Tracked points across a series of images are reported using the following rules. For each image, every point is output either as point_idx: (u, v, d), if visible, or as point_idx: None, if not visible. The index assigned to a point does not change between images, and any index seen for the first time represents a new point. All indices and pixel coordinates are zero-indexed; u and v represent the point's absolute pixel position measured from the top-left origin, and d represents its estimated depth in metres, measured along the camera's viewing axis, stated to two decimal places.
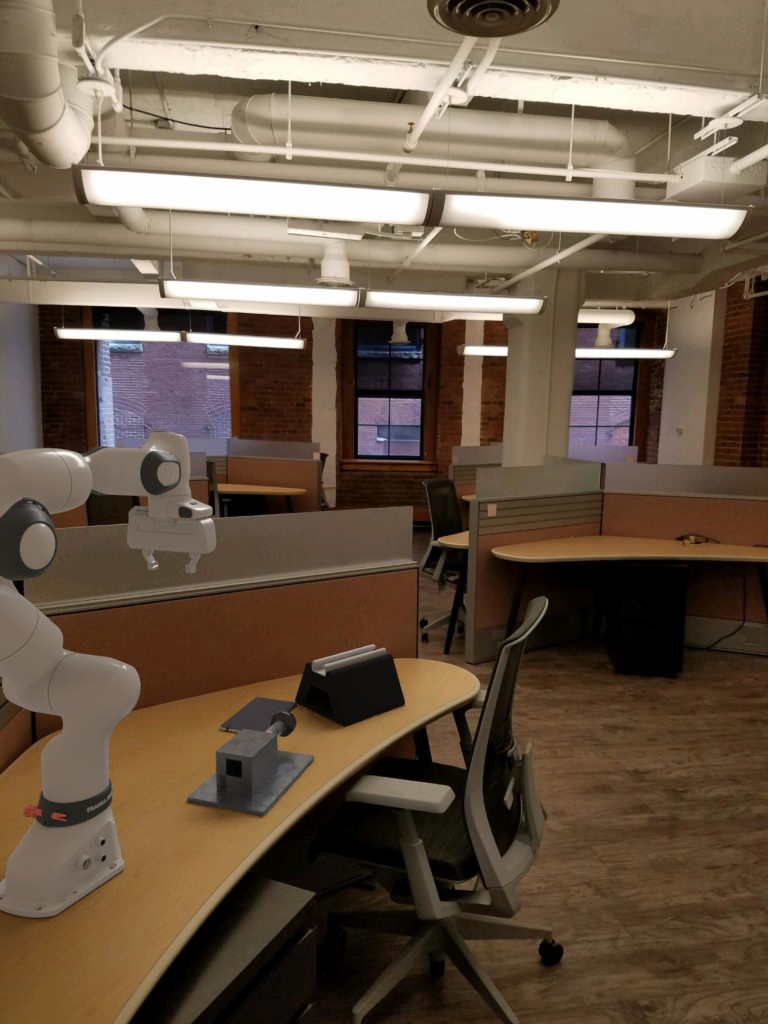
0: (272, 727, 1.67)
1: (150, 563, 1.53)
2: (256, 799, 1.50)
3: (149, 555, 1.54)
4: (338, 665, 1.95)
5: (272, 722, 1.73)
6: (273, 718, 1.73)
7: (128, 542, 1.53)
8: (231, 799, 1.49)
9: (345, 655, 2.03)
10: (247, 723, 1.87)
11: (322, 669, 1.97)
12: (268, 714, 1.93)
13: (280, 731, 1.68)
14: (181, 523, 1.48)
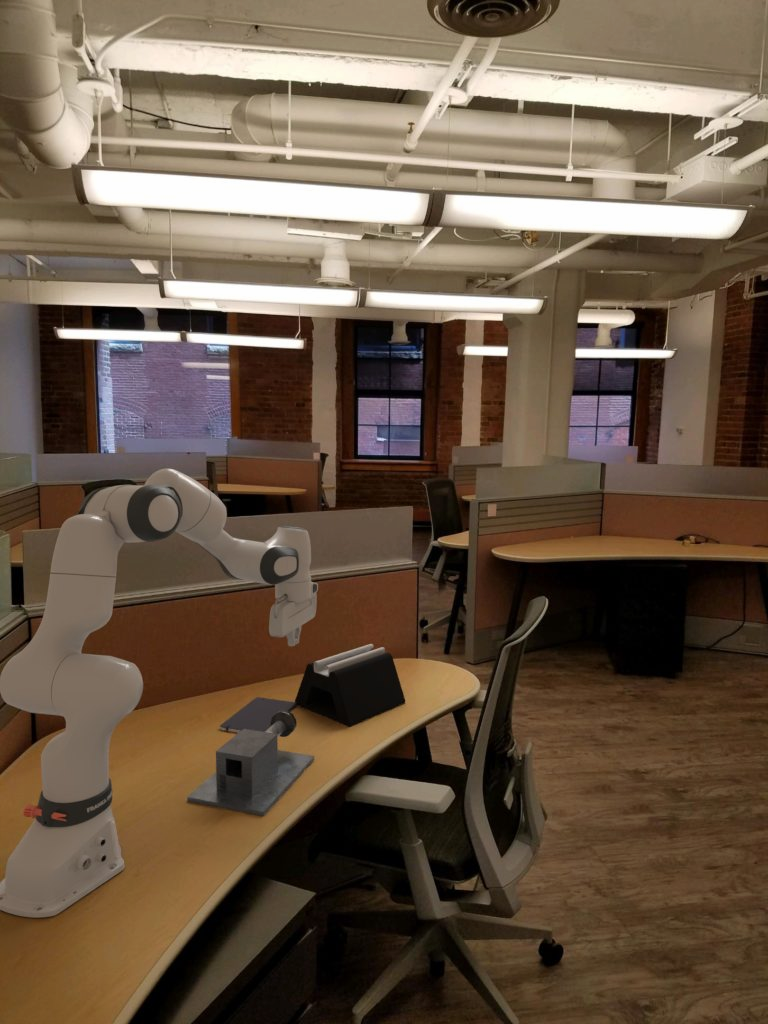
0: (272, 727, 1.67)
1: (295, 639, 1.76)
2: (256, 799, 1.50)
3: None
4: (340, 665, 1.95)
5: (272, 722, 1.73)
6: (273, 718, 1.73)
7: (283, 632, 1.66)
8: (231, 799, 1.49)
9: (345, 655, 2.03)
10: (247, 723, 1.87)
11: (324, 670, 1.97)
12: (268, 714, 1.93)
13: (280, 731, 1.68)
14: (309, 598, 1.79)
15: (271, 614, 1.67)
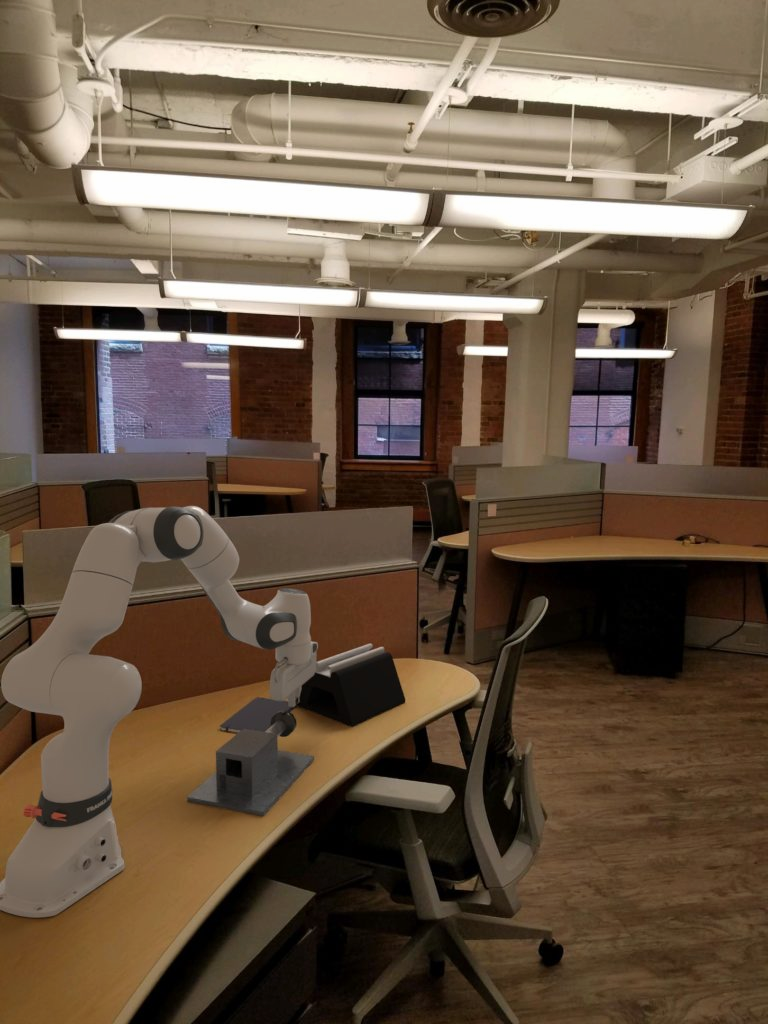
0: (272, 727, 1.67)
1: (295, 700, 1.78)
2: (256, 799, 1.50)
3: None
4: (342, 665, 1.95)
5: (272, 722, 1.73)
6: (273, 718, 1.73)
7: (283, 696, 1.69)
8: (231, 799, 1.49)
9: (345, 655, 2.03)
10: (247, 723, 1.87)
11: (325, 670, 1.96)
12: (268, 714, 1.93)
13: (280, 731, 1.68)
14: None
15: (271, 678, 1.69)
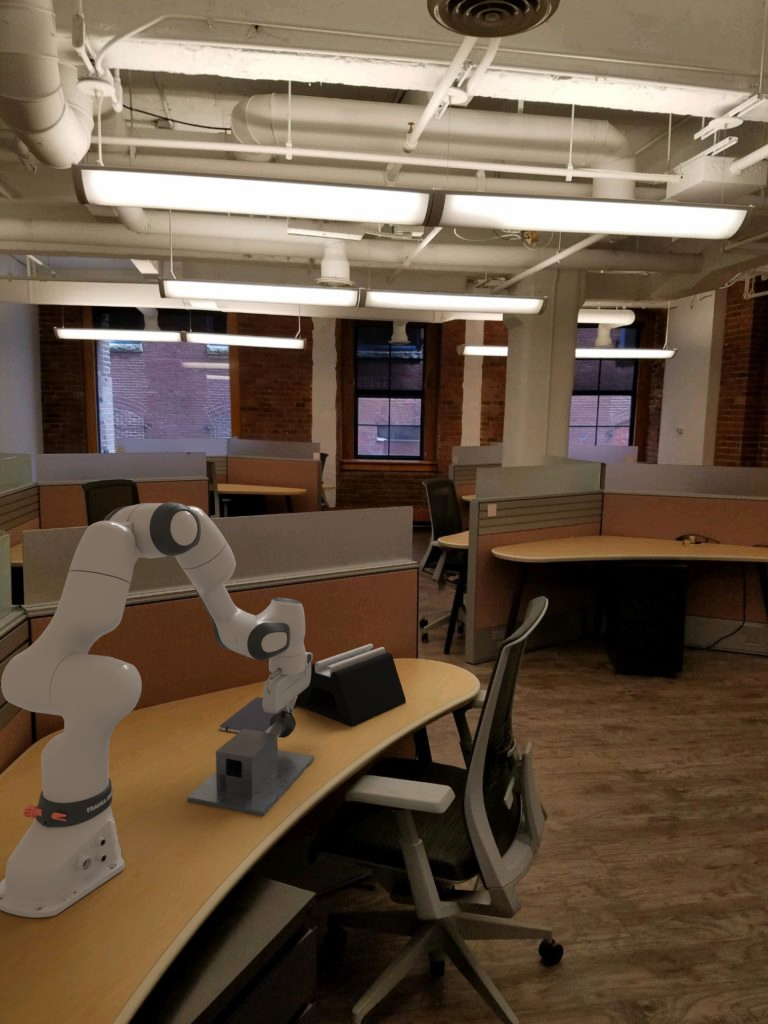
0: (271, 728, 1.67)
1: (289, 712, 1.74)
2: (256, 799, 1.50)
3: None
4: (342, 665, 1.95)
5: (271, 723, 1.73)
6: (272, 719, 1.72)
7: (276, 708, 1.65)
8: (231, 799, 1.49)
9: (346, 655, 2.03)
10: (247, 723, 1.87)
11: (325, 670, 1.96)
12: (268, 714, 1.93)
13: (279, 732, 1.68)
14: (304, 669, 1.77)
15: (264, 690, 1.65)
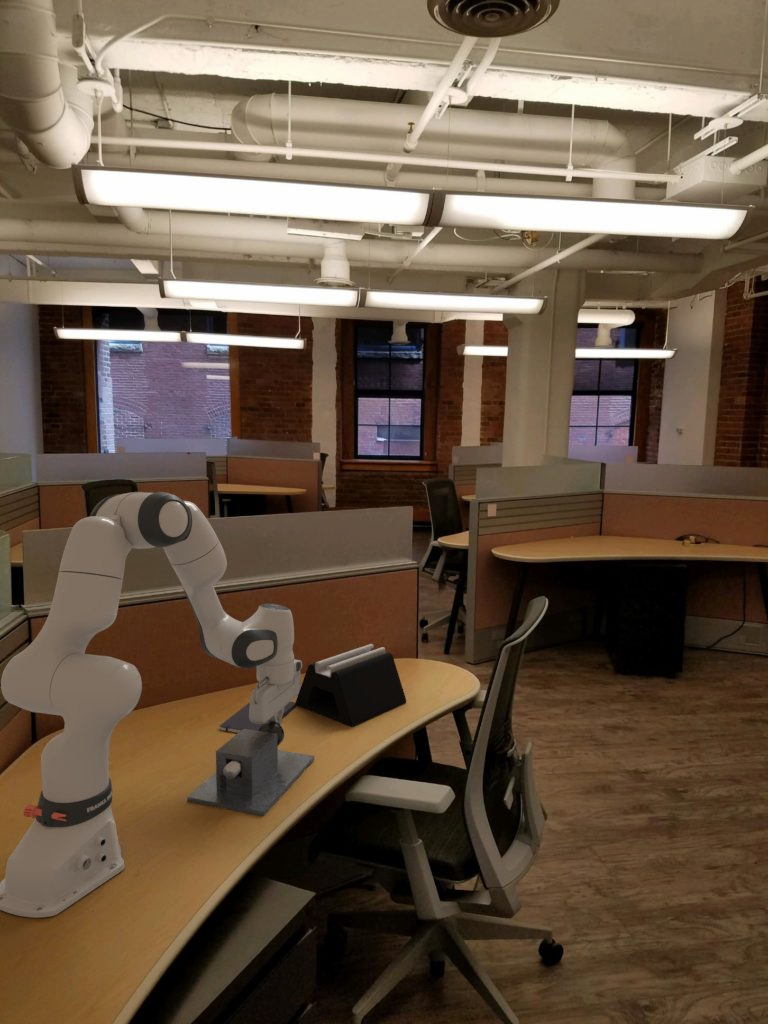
0: None
1: (277, 722, 1.68)
2: (256, 799, 1.50)
3: None
4: (342, 665, 1.95)
5: None
6: (260, 729, 1.66)
7: (263, 719, 1.59)
8: (231, 799, 1.49)
9: (346, 655, 2.03)
10: (246, 723, 1.87)
11: (325, 670, 1.96)
12: None
13: None
14: None
15: (251, 700, 1.59)
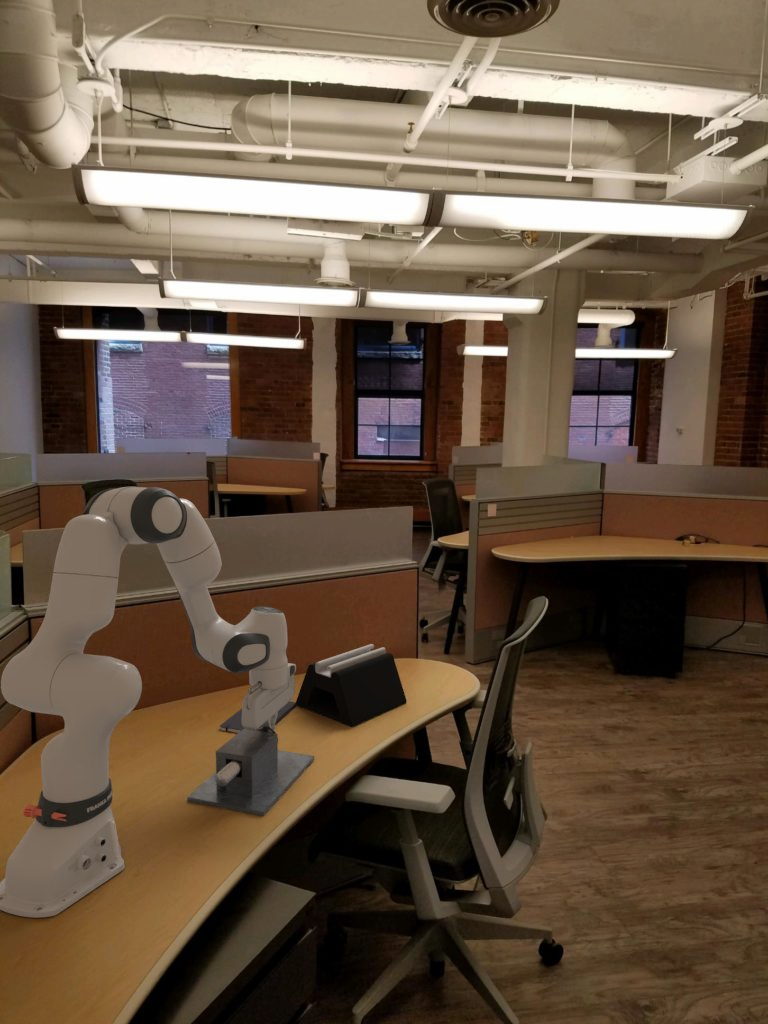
0: None
1: (271, 727, 1.65)
2: (256, 799, 1.50)
3: None
4: (342, 666, 1.95)
5: None
6: None
7: (256, 724, 1.56)
8: (231, 799, 1.49)
9: (346, 655, 2.03)
10: None
11: (326, 670, 1.96)
12: None
13: None
14: None
15: (244, 705, 1.56)
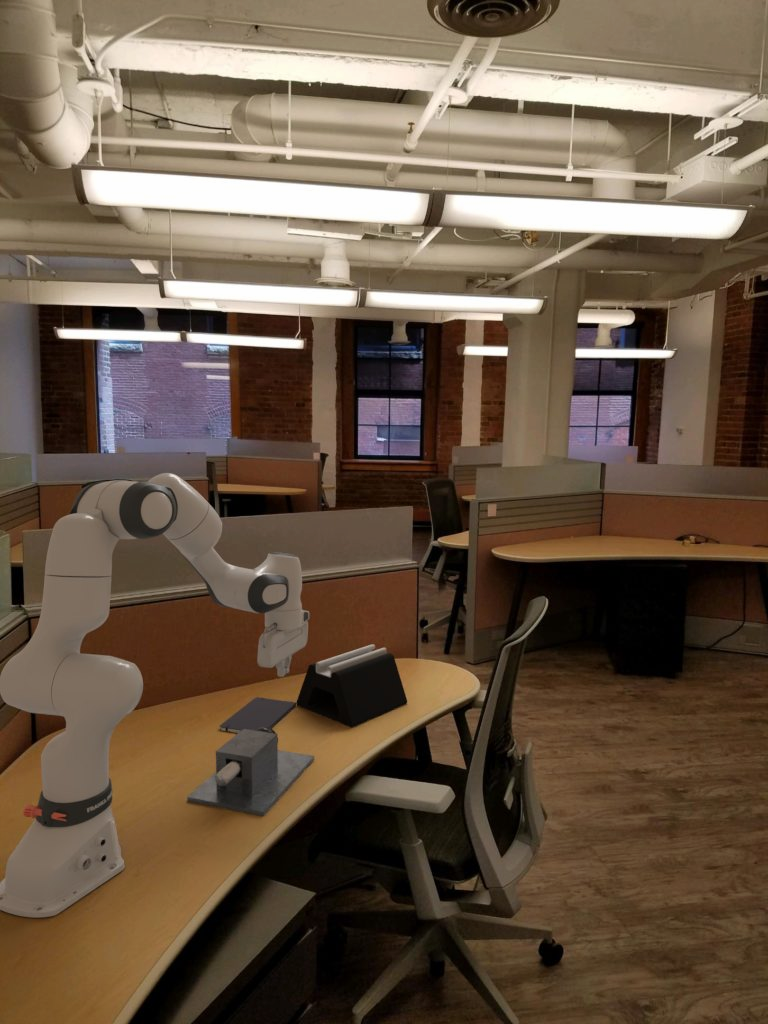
0: None
1: (285, 669, 1.70)
2: (256, 799, 1.50)
3: None
4: (342, 666, 1.95)
5: None
6: None
7: (271, 662, 1.61)
8: (231, 799, 1.49)
9: (347, 656, 2.02)
10: (246, 723, 1.87)
11: (326, 670, 1.96)
12: (267, 714, 1.93)
13: None
14: (300, 627, 1.74)
15: (259, 643, 1.62)
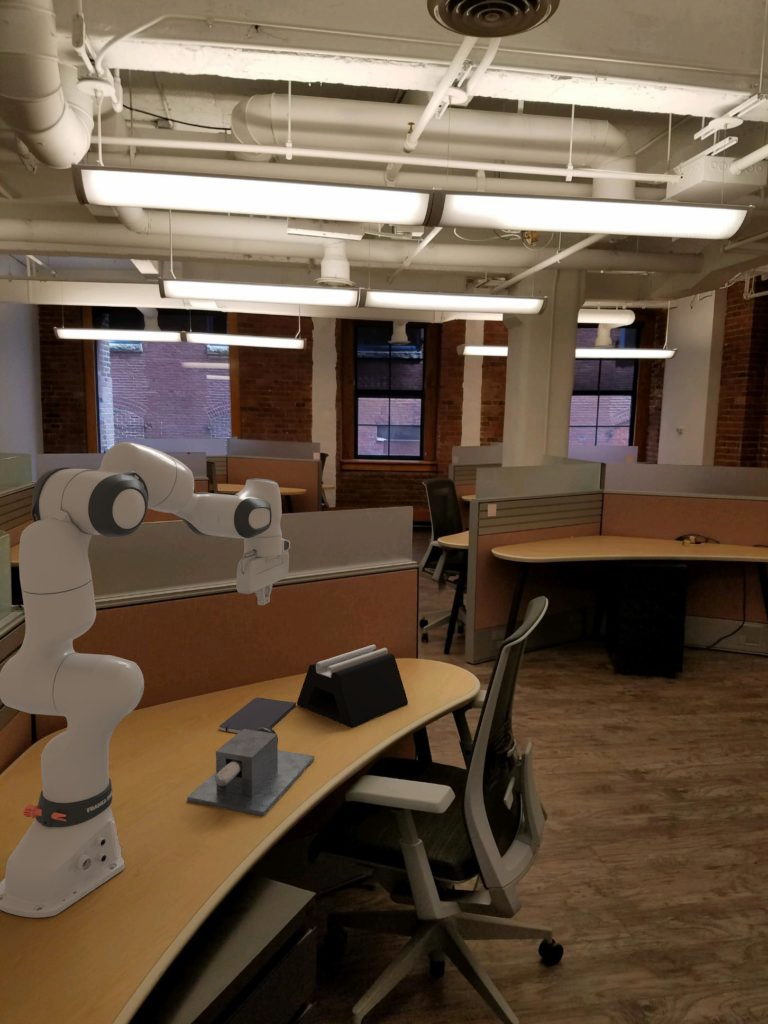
0: None
1: (265, 598, 1.68)
2: (256, 799, 1.50)
3: None
4: (343, 666, 1.94)
5: None
6: None
7: (250, 588, 1.59)
8: (231, 799, 1.49)
9: (348, 656, 2.02)
10: (246, 723, 1.87)
11: (326, 671, 1.96)
12: (267, 714, 1.93)
13: None
14: (281, 556, 1.71)
15: (238, 569, 1.59)
